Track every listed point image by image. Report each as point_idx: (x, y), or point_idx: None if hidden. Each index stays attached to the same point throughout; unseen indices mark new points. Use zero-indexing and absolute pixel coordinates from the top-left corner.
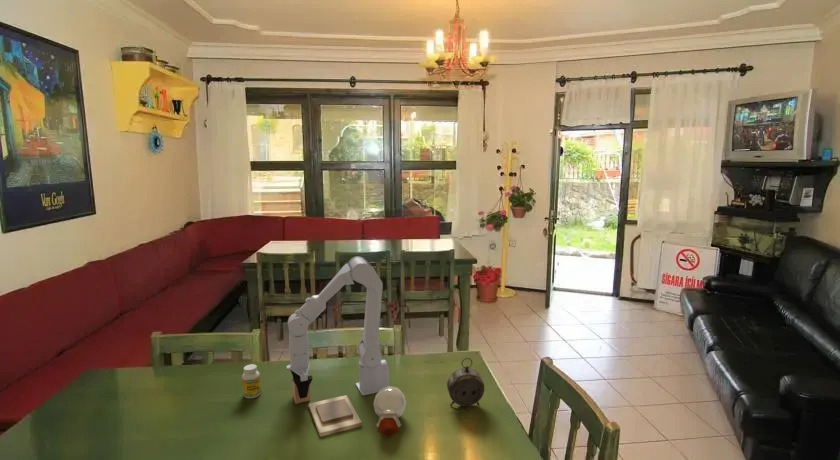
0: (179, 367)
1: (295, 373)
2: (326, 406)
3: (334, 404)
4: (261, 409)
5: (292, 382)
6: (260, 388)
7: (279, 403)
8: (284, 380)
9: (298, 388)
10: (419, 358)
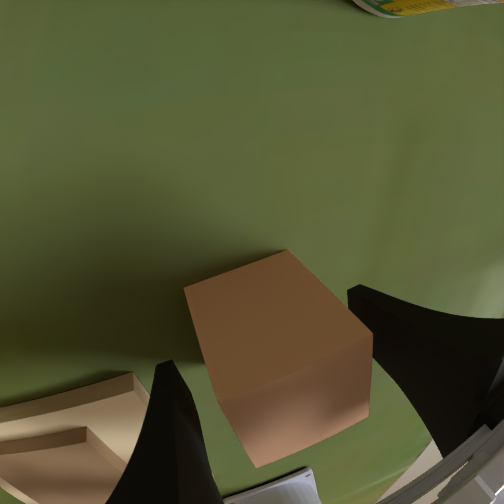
0: None
1: (428, 363)
2: (88, 473)
3: (111, 490)
4: (134, 23)
5: (347, 320)
6: (397, 6)
7: (204, 158)
8: (463, 167)
9: (135, 457)
10: (372, 497)
